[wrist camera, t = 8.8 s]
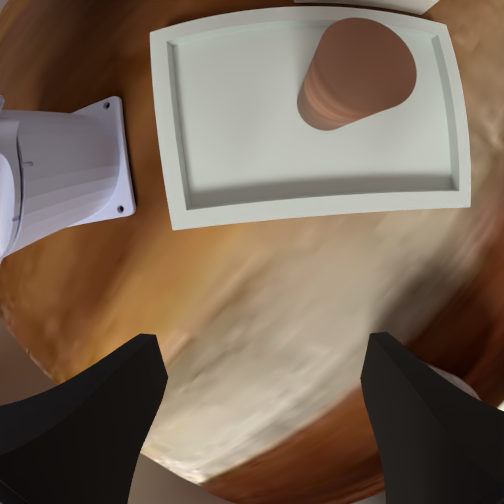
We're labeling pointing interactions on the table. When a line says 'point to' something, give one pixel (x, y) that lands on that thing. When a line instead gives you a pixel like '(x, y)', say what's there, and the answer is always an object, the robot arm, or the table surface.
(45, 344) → the table surface
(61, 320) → the table surface
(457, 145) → the tray
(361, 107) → the pin
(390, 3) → the cup block
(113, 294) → the table surface
